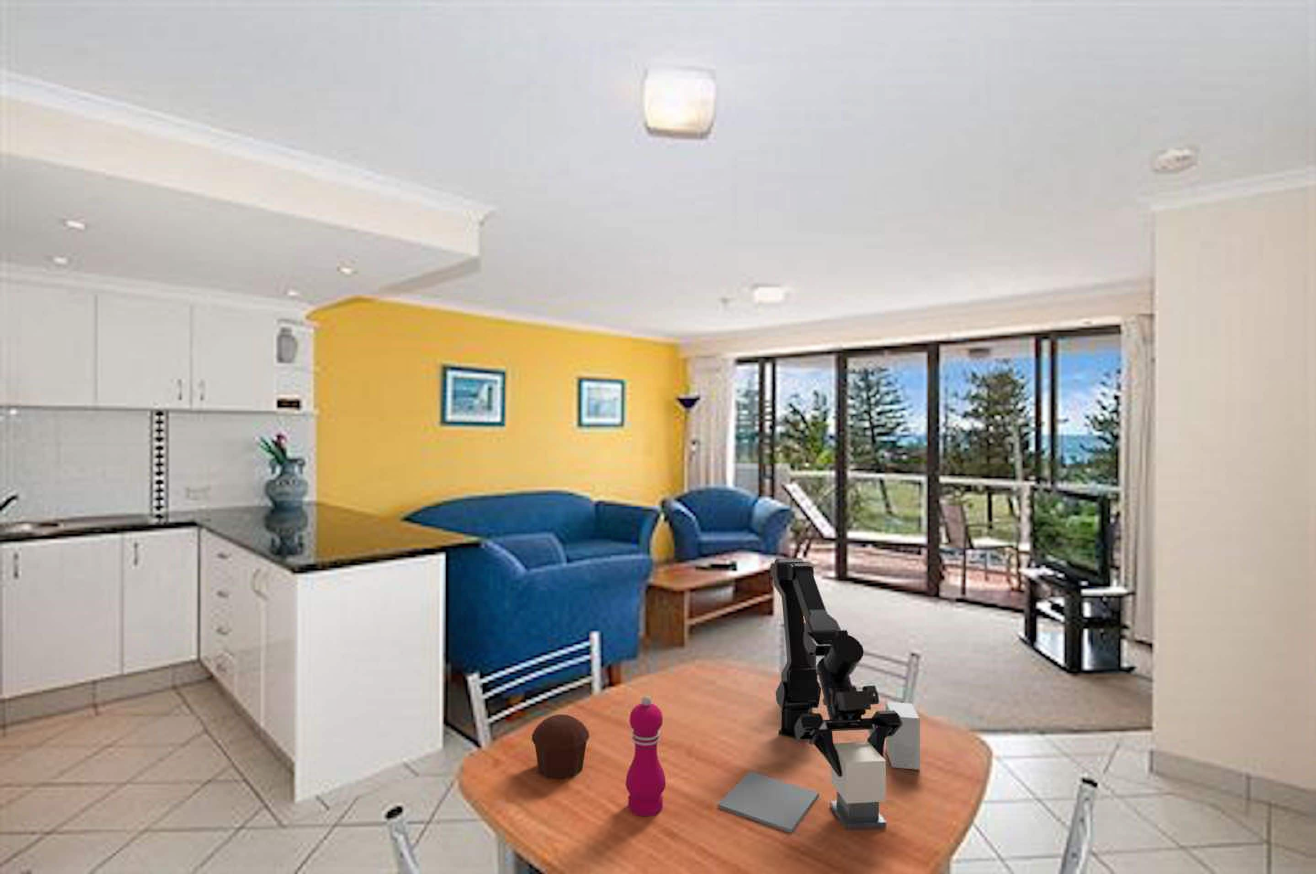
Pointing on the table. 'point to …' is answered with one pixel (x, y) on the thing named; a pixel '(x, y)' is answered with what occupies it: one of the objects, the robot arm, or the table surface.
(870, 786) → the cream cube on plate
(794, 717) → the robot arm
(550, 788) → the table surface
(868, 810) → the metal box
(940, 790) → the table surface
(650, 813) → the pepper mill
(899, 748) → the small box
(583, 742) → the muffin
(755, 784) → the mat
